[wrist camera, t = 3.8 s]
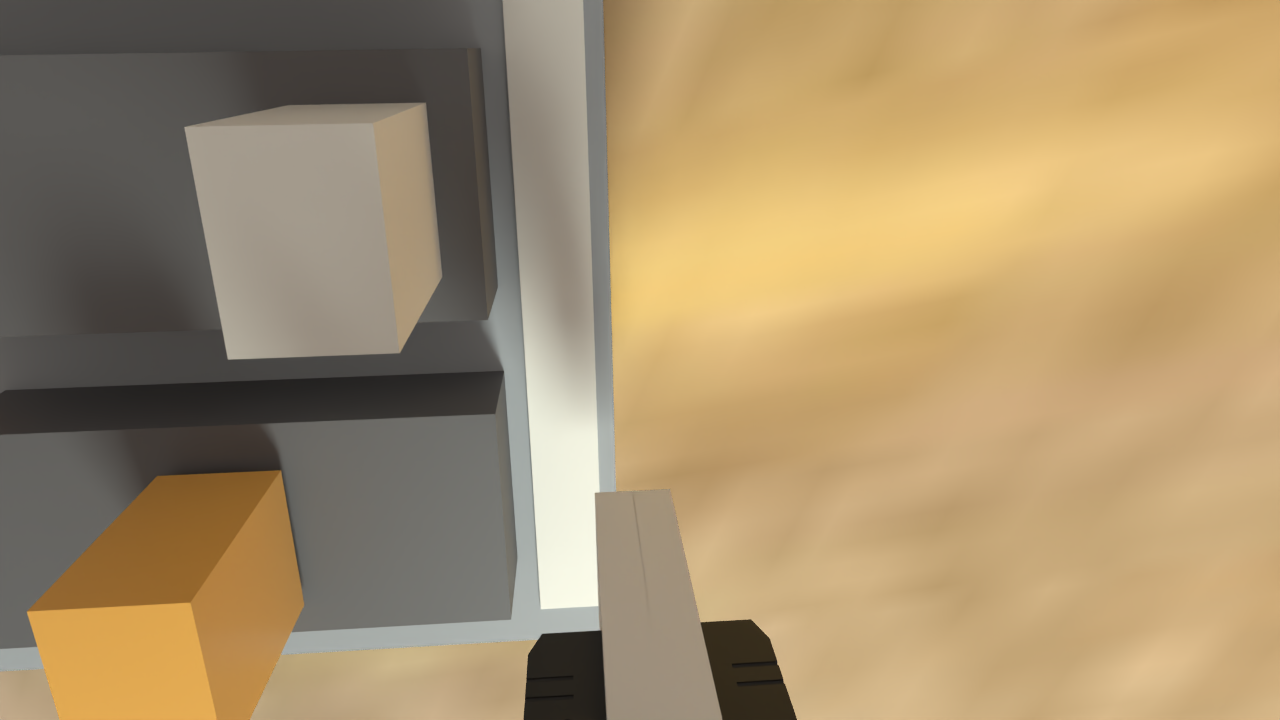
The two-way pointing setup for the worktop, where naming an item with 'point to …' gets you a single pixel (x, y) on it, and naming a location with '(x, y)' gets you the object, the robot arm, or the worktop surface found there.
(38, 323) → the panel
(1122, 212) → the worktop surface
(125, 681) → the block
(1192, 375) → the worktop surface
